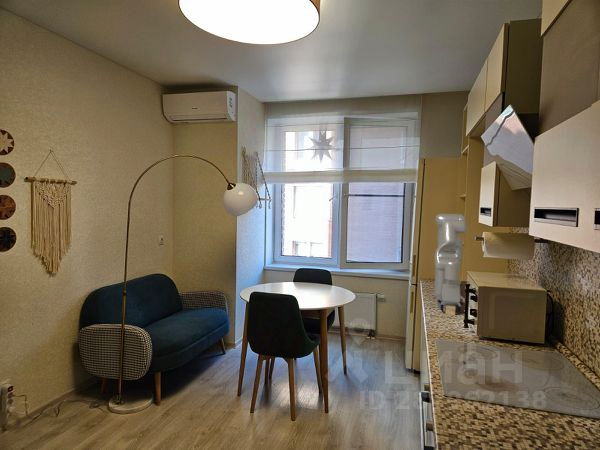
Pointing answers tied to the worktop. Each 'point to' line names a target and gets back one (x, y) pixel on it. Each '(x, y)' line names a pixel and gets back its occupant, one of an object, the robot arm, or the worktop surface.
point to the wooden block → (462, 294)
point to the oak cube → (449, 309)
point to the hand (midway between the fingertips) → (450, 311)
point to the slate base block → (447, 303)
